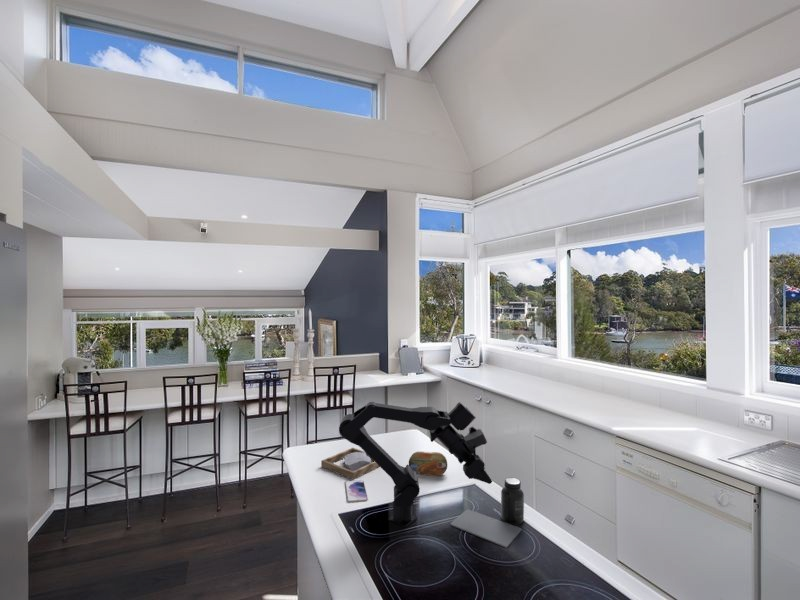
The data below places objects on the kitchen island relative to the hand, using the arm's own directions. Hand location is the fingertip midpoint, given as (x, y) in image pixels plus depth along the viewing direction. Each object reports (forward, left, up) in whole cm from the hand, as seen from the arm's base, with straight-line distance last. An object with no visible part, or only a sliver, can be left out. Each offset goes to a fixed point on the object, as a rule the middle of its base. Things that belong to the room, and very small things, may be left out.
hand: (487, 475), depth 125 cm
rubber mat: (-4, -2, -14) cm, 14 cm away
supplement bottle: (+5, -6, -14) cm, 16 cm away
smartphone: (-12, +44, -14) cm, 48 cm away
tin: (+16, +32, -14) cm, 38 cm away
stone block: (+4, +60, -14) cm, 61 cm away
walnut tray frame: (+3, +60, -14) cm, 62 cm away
